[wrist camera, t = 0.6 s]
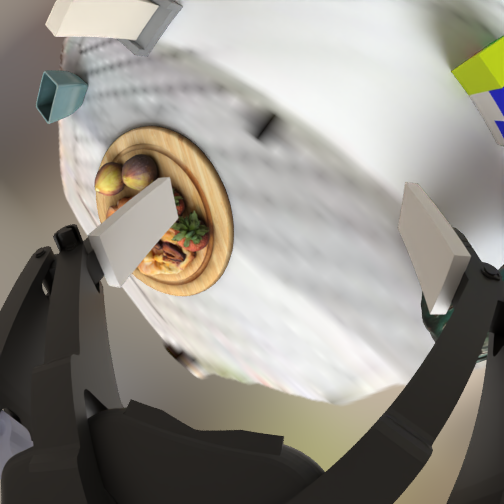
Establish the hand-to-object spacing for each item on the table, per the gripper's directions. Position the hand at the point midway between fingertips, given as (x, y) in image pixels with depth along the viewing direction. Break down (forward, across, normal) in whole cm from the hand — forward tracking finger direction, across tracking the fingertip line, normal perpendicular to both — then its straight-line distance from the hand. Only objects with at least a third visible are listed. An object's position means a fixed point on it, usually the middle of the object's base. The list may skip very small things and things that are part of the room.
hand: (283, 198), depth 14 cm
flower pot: (+31, -44, +13) cm, 56 cm away
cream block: (+26, -24, +22) cm, 42 cm away
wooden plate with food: (+25, -26, -14) cm, 38 cm away
